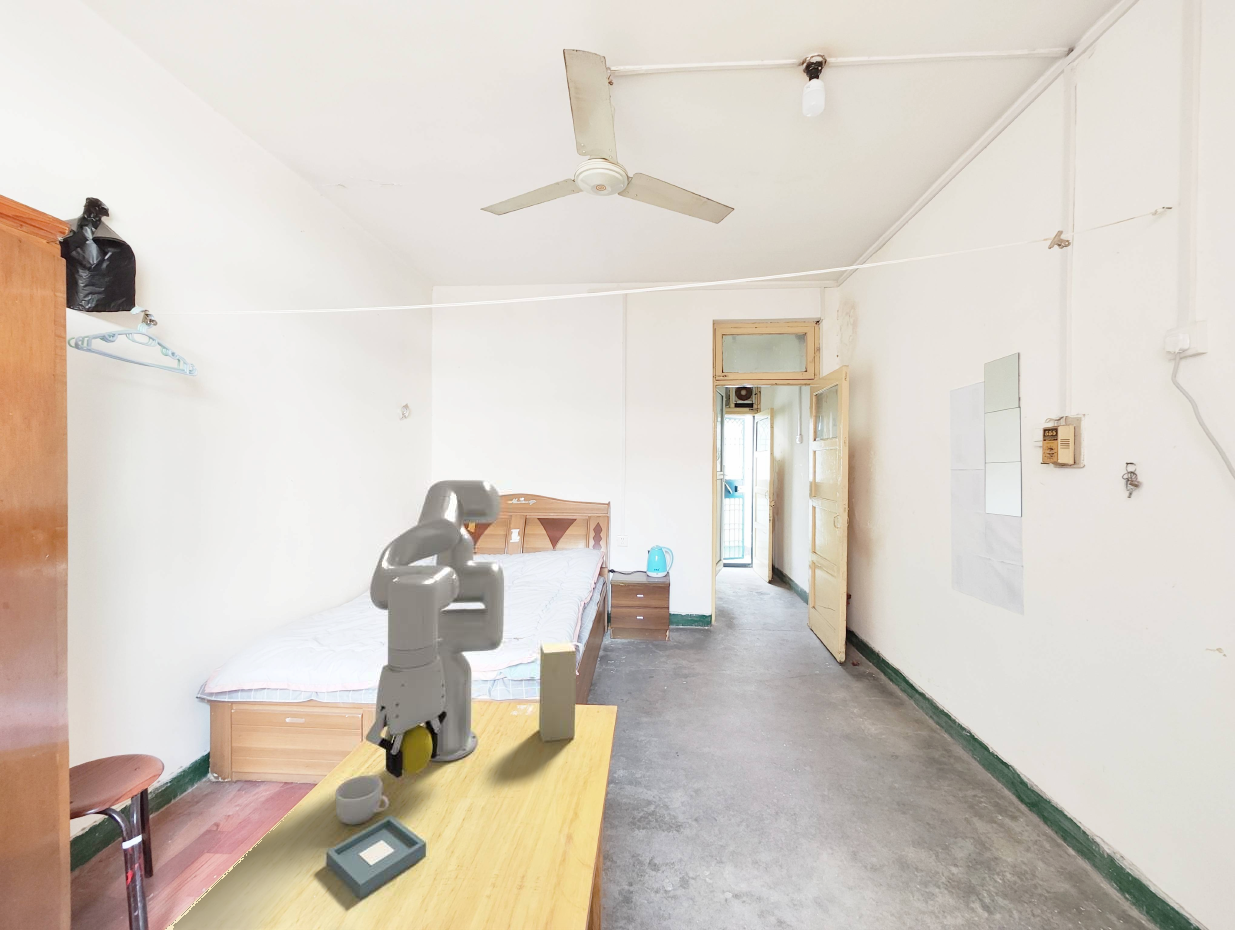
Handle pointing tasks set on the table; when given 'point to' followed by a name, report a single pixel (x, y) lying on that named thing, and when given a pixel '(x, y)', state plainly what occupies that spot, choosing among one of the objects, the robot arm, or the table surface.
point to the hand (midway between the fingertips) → (412, 763)
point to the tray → (375, 856)
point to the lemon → (415, 749)
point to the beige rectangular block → (557, 691)
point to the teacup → (359, 799)
